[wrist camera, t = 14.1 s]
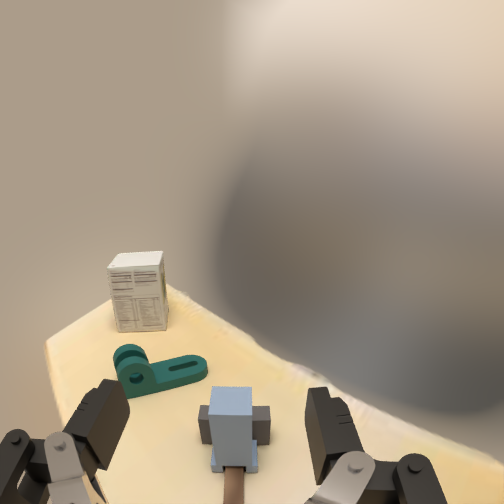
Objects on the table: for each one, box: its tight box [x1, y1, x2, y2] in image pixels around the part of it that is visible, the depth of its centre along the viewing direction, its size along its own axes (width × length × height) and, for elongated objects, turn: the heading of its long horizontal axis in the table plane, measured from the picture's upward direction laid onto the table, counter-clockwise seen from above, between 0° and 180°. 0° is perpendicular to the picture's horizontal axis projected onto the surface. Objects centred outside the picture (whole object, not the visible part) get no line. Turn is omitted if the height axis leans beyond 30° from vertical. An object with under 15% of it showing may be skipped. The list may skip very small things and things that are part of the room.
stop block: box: [198, 405, 271, 445], centre depth 38 cm, size 10×3×6 cm, turn 91°
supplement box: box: [107, 251, 169, 332], centre depth 74 cm, size 13×13×18 cm
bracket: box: [113, 344, 208, 399], centre depth 52 cm, size 18×7×8 cm, turn 121°
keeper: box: [208, 386, 258, 473], centre depth 33 cm, size 6×5×13 cm
